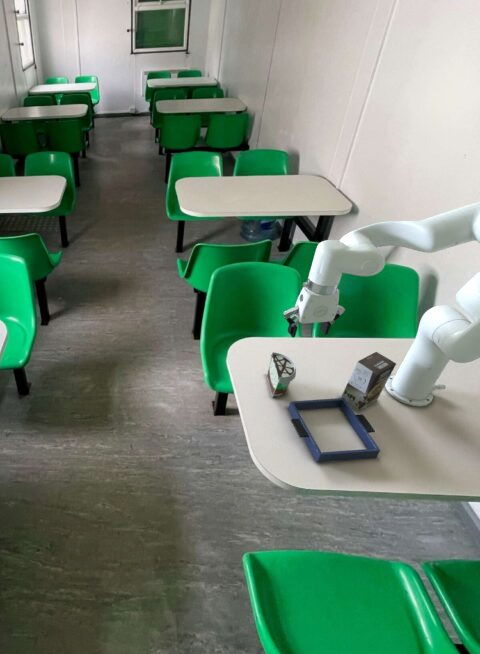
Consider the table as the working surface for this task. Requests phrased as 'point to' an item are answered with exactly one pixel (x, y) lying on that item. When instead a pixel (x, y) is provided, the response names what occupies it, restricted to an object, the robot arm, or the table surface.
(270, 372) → the food container
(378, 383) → the coffee box
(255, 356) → the table surface
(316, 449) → the roasting pan
